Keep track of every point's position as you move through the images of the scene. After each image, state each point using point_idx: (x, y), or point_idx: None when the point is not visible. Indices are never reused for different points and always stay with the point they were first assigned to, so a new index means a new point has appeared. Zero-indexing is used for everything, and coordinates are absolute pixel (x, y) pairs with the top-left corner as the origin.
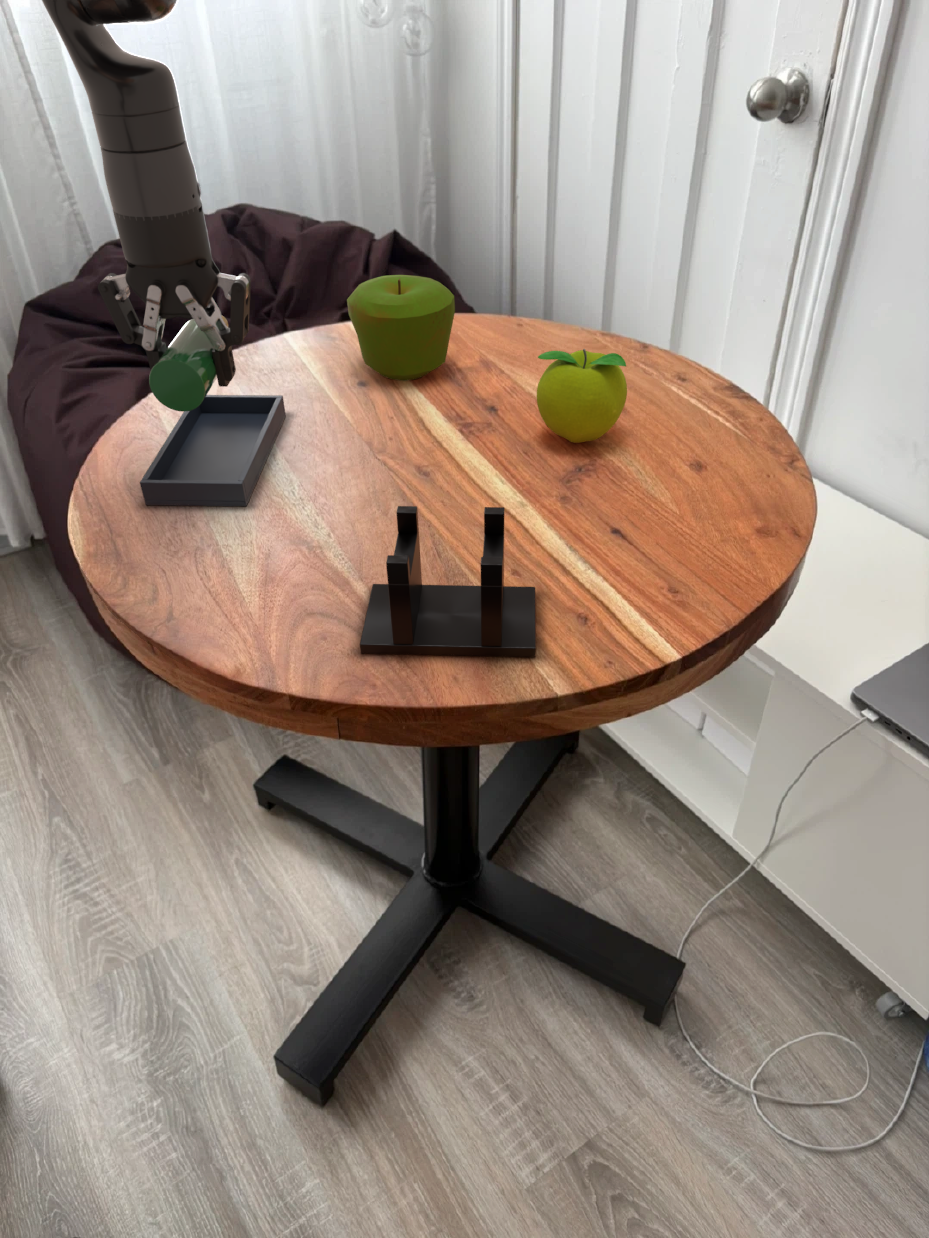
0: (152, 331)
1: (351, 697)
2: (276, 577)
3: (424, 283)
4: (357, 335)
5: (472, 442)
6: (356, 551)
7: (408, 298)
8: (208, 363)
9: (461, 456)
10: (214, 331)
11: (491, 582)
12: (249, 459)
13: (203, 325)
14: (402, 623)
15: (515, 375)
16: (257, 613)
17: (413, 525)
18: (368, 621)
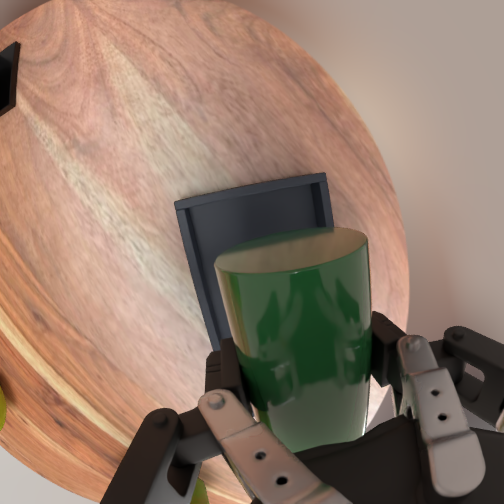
0: (416, 371)
1: (26, 13)
2: (93, 84)
3: None
4: (195, 497)
5: (37, 374)
6: (36, 156)
7: None
8: (239, 349)
9: (30, 351)
10: (222, 431)
11: None
12: (196, 270)
13: (249, 436)
14: None
15: (80, 462)
16: (98, 36)
17: None
18: (10, 63)
